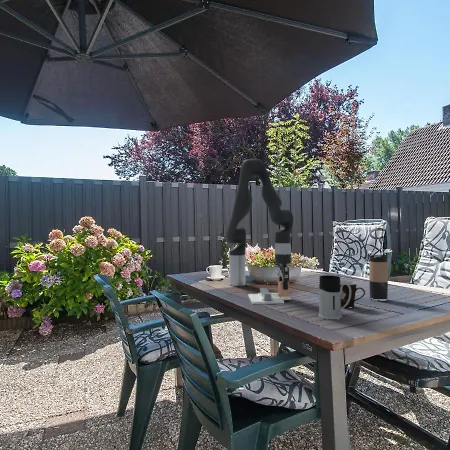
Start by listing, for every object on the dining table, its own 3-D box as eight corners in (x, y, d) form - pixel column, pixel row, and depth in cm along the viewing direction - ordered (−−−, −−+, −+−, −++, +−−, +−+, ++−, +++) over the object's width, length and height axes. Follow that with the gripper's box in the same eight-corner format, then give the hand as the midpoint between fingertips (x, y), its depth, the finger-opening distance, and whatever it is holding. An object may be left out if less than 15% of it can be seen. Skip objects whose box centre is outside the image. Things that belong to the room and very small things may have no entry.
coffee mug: (330, 305, 144) (330, 281, 144) (346, 303, 147) (346, 280, 147) (349, 311, 133) (349, 286, 133) (366, 309, 136) (366, 285, 136)
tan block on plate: (276, 294, 162) (276, 280, 162) (285, 294, 162) (284, 279, 162) (282, 299, 150) (281, 284, 150) (291, 299, 150) (290, 284, 150)
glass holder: (329, 312, 133) (329, 274, 132) (359, 321, 120) (359, 279, 120) (313, 315, 128) (312, 276, 128) (342, 325, 116) (341, 281, 116)
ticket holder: (248, 296, 163) (248, 287, 163) (277, 295, 164) (276, 287, 164) (252, 304, 147) (252, 294, 147) (284, 303, 148) (284, 294, 148)
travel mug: (386, 298, 155) (385, 255, 155) (389, 302, 148) (389, 256, 148) (368, 297, 157) (368, 255, 157) (370, 301, 150) (370, 256, 150)
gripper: (272, 251, 162) (272, 285, 162) (277, 254, 148) (278, 291, 148) (287, 251, 163) (288, 285, 163) (294, 253, 148) (295, 290, 148)
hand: (283, 287), depth 155 cm, fingers open, 8 cm apart
